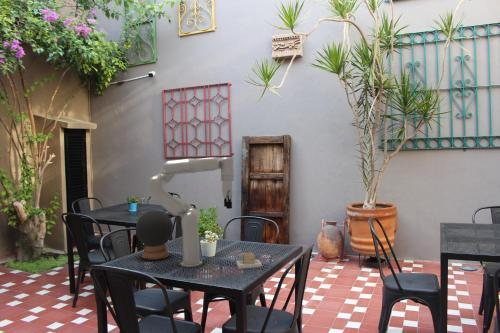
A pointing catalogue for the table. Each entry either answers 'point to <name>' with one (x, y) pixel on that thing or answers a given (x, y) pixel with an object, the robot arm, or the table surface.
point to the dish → (242, 266)
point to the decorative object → (154, 234)
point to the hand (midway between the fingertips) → (228, 207)
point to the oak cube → (248, 258)
